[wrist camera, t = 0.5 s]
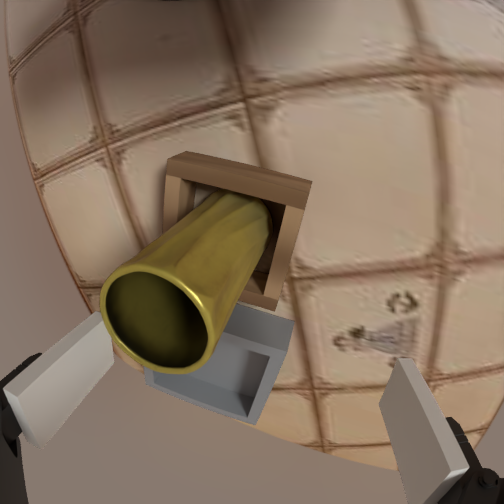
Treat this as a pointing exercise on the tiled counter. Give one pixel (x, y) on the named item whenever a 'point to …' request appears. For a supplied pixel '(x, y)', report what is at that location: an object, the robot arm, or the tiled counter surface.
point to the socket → (247, 182)
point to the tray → (234, 367)
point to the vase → (186, 283)
